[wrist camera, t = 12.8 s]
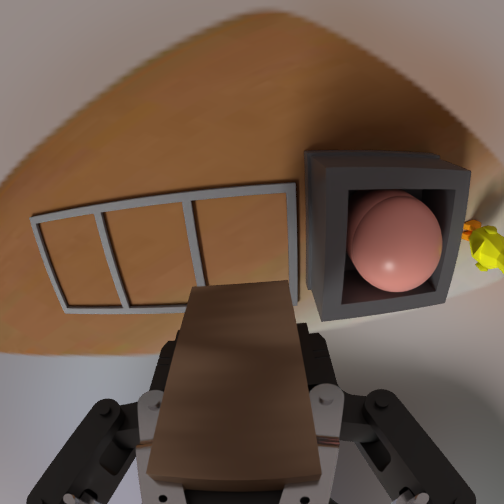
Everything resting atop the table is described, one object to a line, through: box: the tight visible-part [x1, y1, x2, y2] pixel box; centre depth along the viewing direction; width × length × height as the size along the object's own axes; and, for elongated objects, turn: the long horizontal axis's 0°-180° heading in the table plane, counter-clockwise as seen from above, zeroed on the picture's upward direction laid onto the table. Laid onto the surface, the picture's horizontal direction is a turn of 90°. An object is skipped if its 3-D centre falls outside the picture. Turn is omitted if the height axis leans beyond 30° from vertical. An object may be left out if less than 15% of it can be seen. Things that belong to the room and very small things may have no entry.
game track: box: [29, 182, 297, 314], centre depth 22 cm, size 22×10×1 cm, turn 95°
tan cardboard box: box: [146, 280, 322, 492], centre depth 11 cm, size 4×4×9 cm
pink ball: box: [346, 189, 442, 292], centre depth 17 cm, size 6×6×6 cm
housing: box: [304, 150, 471, 322], centre depth 18 cm, size 10×10×5 cm
